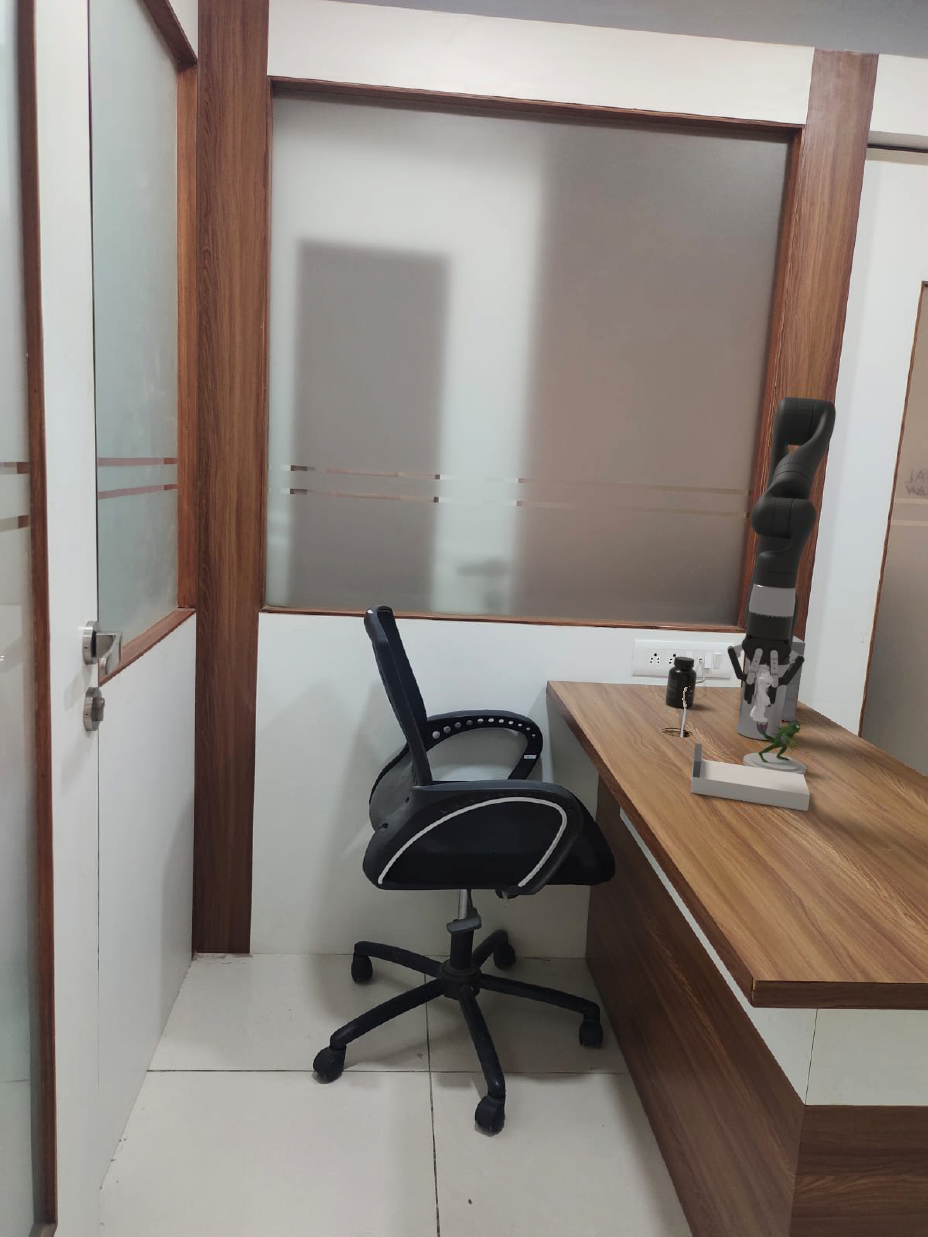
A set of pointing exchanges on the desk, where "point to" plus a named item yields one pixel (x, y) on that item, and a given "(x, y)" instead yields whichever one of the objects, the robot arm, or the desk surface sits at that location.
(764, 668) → the white toy figure
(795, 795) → the shelf board
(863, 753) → the desk surface
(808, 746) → the desk surface
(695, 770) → the rail
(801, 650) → the hard drive box
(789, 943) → the desk surface
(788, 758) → the monster figurine
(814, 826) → the desk surface
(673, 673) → the supplement bottle
